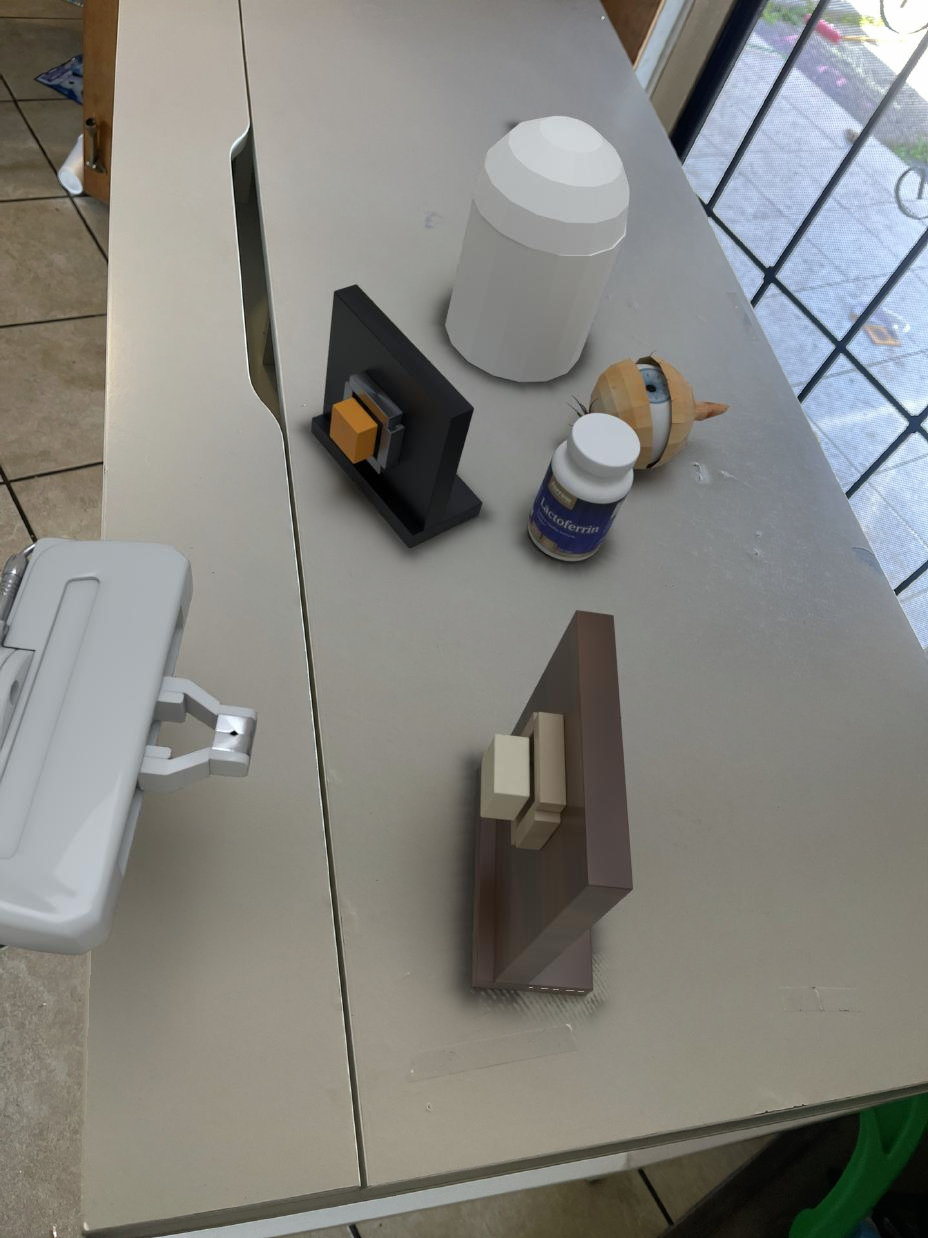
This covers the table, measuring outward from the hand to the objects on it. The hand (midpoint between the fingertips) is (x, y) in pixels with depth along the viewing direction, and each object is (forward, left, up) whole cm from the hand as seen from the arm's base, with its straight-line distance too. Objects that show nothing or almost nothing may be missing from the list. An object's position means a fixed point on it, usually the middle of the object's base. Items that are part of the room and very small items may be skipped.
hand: (253, 743), depth 44 cm
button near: (+10, -8, -2) cm, 13 cm away
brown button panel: (+13, -11, -14) cm, 22 cm away
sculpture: (+46, +13, -15) cm, 50 cm away
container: (+46, +30, -15) cm, 57 cm away
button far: (+21, +21, -9) cm, 31 cm away
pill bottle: (+34, +9, -15) cm, 38 cm away
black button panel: (+25, +21, -14) cm, 36 cm away
